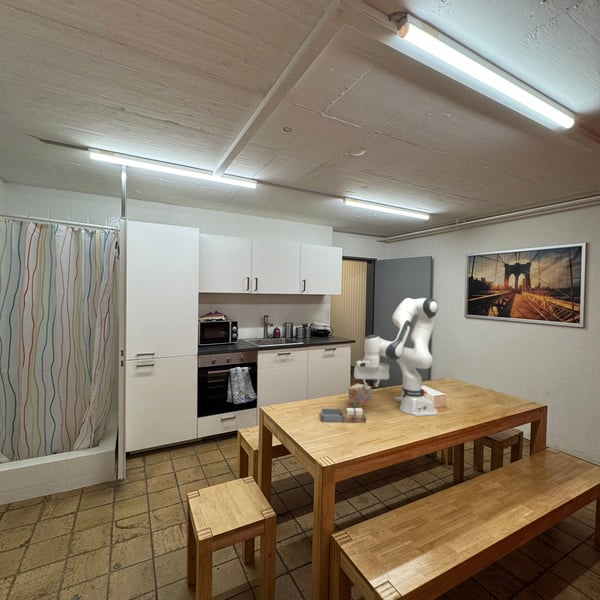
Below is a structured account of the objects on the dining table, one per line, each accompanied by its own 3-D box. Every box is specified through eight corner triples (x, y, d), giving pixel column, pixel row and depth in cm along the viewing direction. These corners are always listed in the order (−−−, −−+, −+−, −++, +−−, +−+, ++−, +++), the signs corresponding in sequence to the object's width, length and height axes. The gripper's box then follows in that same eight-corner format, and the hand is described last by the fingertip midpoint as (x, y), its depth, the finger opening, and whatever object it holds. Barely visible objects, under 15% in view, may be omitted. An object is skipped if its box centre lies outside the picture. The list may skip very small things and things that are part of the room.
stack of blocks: (363, 397, 219) (363, 380, 218) (371, 399, 215) (371, 382, 215) (348, 406, 202) (348, 387, 202) (356, 408, 198) (357, 389, 198)
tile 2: (361, 412, 184) (361, 408, 184) (362, 414, 180) (362, 410, 180) (354, 412, 184) (354, 408, 184) (355, 414, 180) (355, 410, 180)
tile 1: (352, 412, 184) (353, 407, 184) (354, 414, 180) (354, 410, 180) (346, 412, 184) (346, 407, 184) (347, 414, 180) (347, 410, 180)
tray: (339, 414, 188) (339, 408, 188) (342, 422, 177) (342, 416, 176) (321, 414, 188) (321, 408, 188) (322, 422, 177) (322, 415, 176)
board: (361, 414, 188) (361, 409, 188) (365, 423, 176) (365, 417, 176) (340, 414, 188) (340, 409, 188) (342, 422, 176) (343, 417, 176)
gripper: (387, 362, 184) (387, 385, 185) (353, 361, 184) (353, 384, 185) (391, 364, 178) (390, 388, 178) (355, 363, 178) (354, 387, 178)
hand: (371, 386), depth 182 cm, fingers open, 5 cm apart
